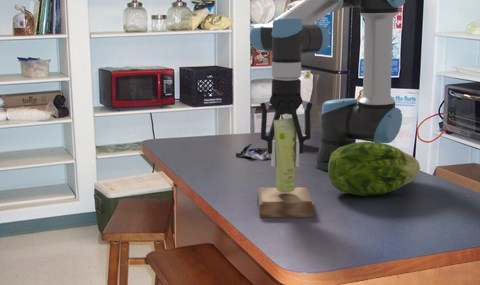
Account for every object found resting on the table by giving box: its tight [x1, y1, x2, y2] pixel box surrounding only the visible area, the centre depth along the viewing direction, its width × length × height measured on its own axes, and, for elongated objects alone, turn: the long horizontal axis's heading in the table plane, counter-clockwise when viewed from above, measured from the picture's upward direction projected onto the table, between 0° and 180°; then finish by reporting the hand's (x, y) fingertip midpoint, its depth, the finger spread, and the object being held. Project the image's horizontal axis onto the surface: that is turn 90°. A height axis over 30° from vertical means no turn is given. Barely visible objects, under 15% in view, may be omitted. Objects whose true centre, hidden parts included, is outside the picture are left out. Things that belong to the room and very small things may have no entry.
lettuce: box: [327, 141, 421, 197], centre depth 180 cm, size 15×27×16 cm, turn 97°
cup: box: [282, 109, 305, 141], centre depth 247 cm, size 10×10×13 cm
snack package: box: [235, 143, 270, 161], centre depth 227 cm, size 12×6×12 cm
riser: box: [256, 186, 315, 218], centre depth 168 cm, size 14×14×4 cm
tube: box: [274, 118, 296, 192], centre depth 165 cm, size 6×5×20 cm
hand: (285, 165), depth 166 cm, fingers closed on tube, 6 cm apart
